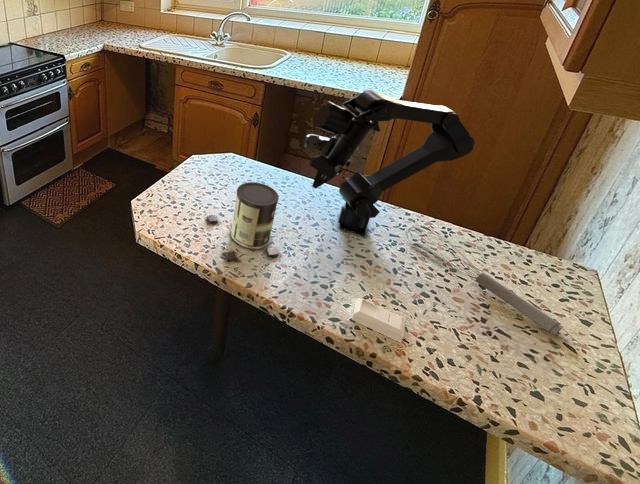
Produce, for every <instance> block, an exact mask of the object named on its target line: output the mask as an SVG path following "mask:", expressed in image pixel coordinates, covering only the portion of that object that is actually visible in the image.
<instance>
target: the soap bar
mask: <svg viewBox="0 0 640 484" xmlns="http://www.w3.org/2000/svg"><path fill="white" fill-rule="evenodd" d="M353 308H354V309H353V312H352V316H351V320H352V321H353V322H356V323H358V324H360V325H362V326H364V327H366V328H368V329H371V330H372V331H375V332H377V333H379V334H381V335H384V336H385V337H388V338H390V339H392V340H394V341H396V342H399V343H402V341H403V339H404V336H405V329H406V318H405V317H403V316H402V315H401V314H400V315H399V314H397V313H395V312H392V311H390V310H388V309H387V308H384V307H382V306H379V305H377V304H374V303H372V302H370V301H368V300H366V299H363V298H359V297H358V298H357V299H356V302H355V304H354V307H353Z"/></svg>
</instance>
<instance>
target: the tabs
mask: <svg viewBox="0 0 640 484" xmlns="http://www.w3.org/2000/svg"><path fill="white" fill-rule="evenodd" d="M206 219H207V221H208V224H218V222H219V221H218V220H219V219H217V216H216V215H207V216H206ZM264 252H265V253H266V254H267V256H268V257H269V258H276V257H277V258H278V257H279V252H278V251H277V250H276V247H265V249H264ZM223 255H224V257H225V259H226V262H236V261H237V260H238V258H237V255H236V253H235V252H234V251H225V252H224V254H223Z"/></svg>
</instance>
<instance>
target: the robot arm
mask: <svg viewBox="0 0 640 484" xmlns="http://www.w3.org/2000/svg"><path fill="white" fill-rule="evenodd" d="M392 120H403V121H404V120H405V121H412V122H418V123H425V124H430V129H431V131H432V132H431V133H430V134H428V135H427V137H426V138H425V140H424V143H423V144H422V145H421V146H420V147H418V148H415V149H414V150H412V151H411V152H409V153H406V154H405V155H403V156H402V157H400V158H398V159H396V160H394V161H393V162H391V163H389V164H387V165H386V166H384V167H382V168H380V169H379V170H377V171H375V172H374V173H373V172H372V174H368V175H362V174H361V172H356V173H354V174H353V175H351V176H350V177H348V178H347V177H346V178H344V181H342V183H340V185H339V186H340V187H339V189H338V192H339V195H340V196H341V197H342V199H343V200H344V202H345V203H344V205H342V206H341V209H340V211H339V215H338V219H337V220H338V223H339V229H340V230H344V231H347V232H352V233H354V234H359V235H362V236H366V235H367V228H368V225H369V222H370V219H373V218H374V219H375V218H376V217H377V216H378V215H379V214H380V210H379V209H378V208H377V207H376V206H375V204H376V203H377V202H378V201H379V200H380V198H381V196H382V194H383V193H384V192H385V191H386V190H388V189H389V188H392V187H394V186H395V185H397V184H399V183H401V182H403V181H405V180H407V179H408V178H410V177H412V176H413V175H415V174H417V173H420V172H421V171H423V170H425V169H426V168H428V167H430V166H432V165H434V164H436V163H438V162H450V161H455V160H459V159H460V158H463V157H465V156H467V155H469V154H471V152H472V151H474V146H475V139H474V138H473V137H472V136H471V134H470V132H469V131H468V130H467V128H466V127H465V125H464V124H463V123H462V122H461V120H460V117H459V115H458V114H457V112H456V111H453V110H452V109H451V108H448V107H447V106H445V105H441V104H440V105H434V104H428V103H421V102H415V101H414V102H413V101H409V100H408V101H407V100H400V99H395V98H393V97H390V96H388V95H386V94H383V93H381V92H377V91H374V90H373V89H367V90H363V91H362V92H361V93H360V94H358V95H357V96H355V97H353V98H350V99H348V100H347V101H344V102H343V103H340V105H337V104H335V103H334V102H332V101H327V102H326V104H325V105H321V106H319V107H318V108H317V109H316V110H315V111H314V113H313V116H312V119H311V122H312V126H313V127H315V128H317V129H320V130H323V131H325V132H327V133H331V134H333V135H334V136H331V137H327V136H322V135H319V134H314V133H310V134H309V133H308V134H307V135H305V138H304V139H303V144H304V145H303V147H304V148H305V149H312V150H315V151H320V153H319V154H320V155H315V156H313V157H312V158H311V159H310V161H309V162H308V165H309V166H310V167H311V168H313V169H314V170H316V173H315V177H314V179H313V183H312V185H311V187H312V188H314V189H317V188H320V187H321V186H323V185H324V184H326V183H327V182H329V181H331V180H333V179H334V178H336V177H337V176H339V175H340V174H342V173H343V171H344V170H342V169H341V167H344V168H346V169H349V167H350V166H351V165H352V163H353V162H354V158H353V155H354V154H355V153H356V152H357V151H358V150H359V148H360V146H361V144H362V143H363V141H364V140H365V139H366V138H367V136H368V135H369V133H370V132H371V131H375V132H378V133H380V132H381V127H380V124H379V122H390V121H392Z"/></svg>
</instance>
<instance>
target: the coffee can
mask: <svg viewBox="0 0 640 484" xmlns="http://www.w3.org/2000/svg"><path fill="white" fill-rule="evenodd" d="M279 198H280V195H279V194H278V192H277V191H276V190H275V189H274V188H273V187H271V186H269V185H268V184H265V183H261V182H255V181H251V182H250V181H249V182H244V183H241V184H240V185H238V186H237V188H236V196H235V203H234V212H233V216H232V217H233V218H232V225H231V229H230V235H231V238H232V239H233V241H234V242H235V243H237V244H238V245H239V246H241V247H244V248H245V249H251V250H260V249H264V248H266V247H267V246H268V245H269V243H270V242H271V241H270V240H271V235H272V234H271V233H272V230H273V224H274V220H275V216H276V215H275V214H276V211H277V207H278V206H277V205H278V203H279Z"/></svg>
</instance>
